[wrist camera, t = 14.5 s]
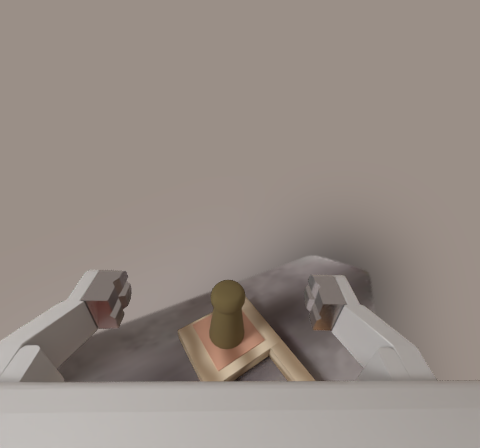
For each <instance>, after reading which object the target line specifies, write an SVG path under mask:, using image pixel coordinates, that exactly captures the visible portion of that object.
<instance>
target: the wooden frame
mask: <svg viewBox="0 0 480 448" xmlns="http://www.w3.org/2000/svg"><path fill="white" fill-rule="evenodd" d="M212 314H213V312H212V313H210V314H208V315H206V316H204V317H202V318H200V319H198V320H196V321H194V322H193V323H191V324H189V325H187V326H185V327H183V328H181V329H179V330H178V335H179V339H180V341H181V343H182V345H183V347H184V349H185V351H186V353H187V355H188V357H189V359H190V361H191V363H192V366H193V368H194V370H195V372H196V374H197V376H198V378H199V380H200V381H234V380H235V379H237V378H238V377H240V376H241V375H242V374H244V373H245V372H247V371H248V370H249V369H251V368H252V367H254V366H255V365H256V364H258V363H259V362H261V361H262V360H263V359H265V358H266V357H268V356H269V357H270V358H271V359H272V361H273V362H274V363H275V365H276V366H277V367H278V369H279V370H280V371H281V373H282V374H283V375H284V377H285V378H286V379H287V381H316V380H315V379H314V378H313V377H312V376H311V374H310V373H309V372H308V371H307V370H306V368H305V367H304V366H303V365H302V364H301V362H300V361H299V360H298V359H297V358H296V356H295V355H294V354H293V353H292V352H291V350H290V349H289V348H288V347H287V346H286V344H285V343H284V342H283V341H282V340H281V338H280V337H279V336H278V335H277V334H276V332H275V331H274V330H273V329H272V328H271V326H270V325H269V324H268V323H267V322H266V320H265V319H264V318H263V317H262V316H261V314H260V313H259V312H258V311H257V310H256V308H255V307H254V306H253V305H252V304H251V302H250V301H249V300H248V299H247V298H246V296H245V303H244V305H243V307H242V316H243V324H244V338H243V340H242V342H241V343H240V344H239V345H238V346H236V347H234V348H232V349H221V348H219V347H217V346H215V345H214V344H213V343H212V341H211V339H210V336H209V330H210V325H211V319H212Z"/></svg>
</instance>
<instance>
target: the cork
mask: <svg viewBox="0 0 480 448" xmlns="http://www.w3.org/2000/svg"><path fill="white" fill-rule="evenodd" d="M211 303H212V305H213V307H214V309H213V314H212V319H211V325H210V330H209V336H210V339H211V341H212V343H213V344H214V345H215V346H217V347H219V348H221V349H232V348H234V347H236V346H238V345H239V344H240V343H241V342H242V340H243V338H244V324H243V316H242V307H243V305H244V303H245V292H244V289H243V287H242V286H241V285H240V284H239V283H238V282H236V281H233V280H224V281H221V282H219V283H218V284H216V285H215V287H214V288H213V289H212V292H211Z"/></svg>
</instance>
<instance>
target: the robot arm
mask: <svg viewBox="0 0 480 448" xmlns="http://www.w3.org/2000/svg"><path fill="white" fill-rule="evenodd" d="M127 278H128V275H127V272H126V271H112V270H88V271H86V272H85V273H84V275H83V277H82V278H81V279H80V281H79V282H78V284H77V285H76V287H75V288H74V290H73V291H72V293H71V294H70V296H69V297H68V299H67V300H66V301H61V302H60V303H58V304H57V305H55V306H54V307H52V308H51V309H49V310H47V311H46V312H44V313H43V314H41V315H40V316H38V317H37V318H35V319H33V320H32V321H30V322H29V323H27V324H25V325H24V326H22V327H21V328H19V329H18V330H16V331H15V332H13V333H11V334H10V335H8V336H7V337H5V338H4V339H2V340H1V341H0V448H480V380H478V381H477V380H476V381H470V380H469V381H438V380H437V379H436V377H435V376H434V374H433V372H432V371H431V369H430V368H429V366H428V364H427V363H426V361H425V360H424V358H423V356H422V355H421V353H420V352H419V350H418V348H417V347H416V346H415V345H414V344H412V343H411V342H410V341H408V340H407V339H406V338H405V337H403V336H402V335H401V334H400V333H398V332H397V331H396V330H395V329H393V328H392V327H391V326H389V325H388V324H387V323H386V322H384V321H383V320H382V319H380V318H379V317H378V316H377V315H375V314H374V313H373V312H371V311H370V310H369V309H368V308H366V307H365V306H364V305H360V304H359V302H358V300H357V298H356V296H355V294H354V292H353V290H352V288H351V286H350V284H349V283H348V281H347V279H346V277H345V276H344V275H310V276H309V279H308V283H309V285H308V286H307V287H306V288H305V292H304V301H305V305H306V308H307V309H308V310H309V311H310V314H309V319H310V322H311V326H312V329H313V330H325V331H332V333H333V334H334V335H335V336H336V337H337V338H338V340H339V341H340V342H341V343H342V344H343V345H344V346H345V348H346V349H347V350H348V351H349V352H350V353H351V354H352V355H353V357H354V358H355V359H356V360H357V361H358V362H359V363H360V364H361V366H362V367H363V368H364V369H363V370H362V372H361V373H360V375H359V376H358V377H357V379H356V381H173V382H64V381H65V380H64V378H63V376H62V375H61V374H60V372H59V371H58V370H57V368H58V367H59V366H60V365H61V364H62V363H63V362H64V361H66V360H67V359H68V358H69V357H70V356H71V355H72V354H73V353H74V352H75V351H76V350H77V349H78V348H79V347H80V346H81V345H82V344H83V343H84V342H85V341H87V340H88V339H89V338H90V337H91V336H92V335H93V334H94V333H95V332H96V331H97V329H111V328H119V326H120V324H121V321H122V319H123V317H124V312H123V309H124V308H125V307H127V306H128V304H129V302H130V299H131V285H130V283H128V282H127Z"/></svg>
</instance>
